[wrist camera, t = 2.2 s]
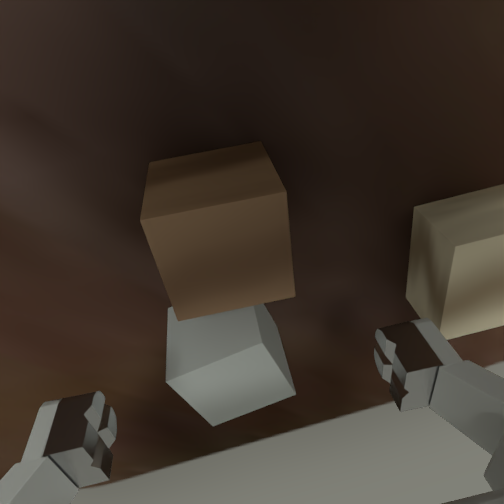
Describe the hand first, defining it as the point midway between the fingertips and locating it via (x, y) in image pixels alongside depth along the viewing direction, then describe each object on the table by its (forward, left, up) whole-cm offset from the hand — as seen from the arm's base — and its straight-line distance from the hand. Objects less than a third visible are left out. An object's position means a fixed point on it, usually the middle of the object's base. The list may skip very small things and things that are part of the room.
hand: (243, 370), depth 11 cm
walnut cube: (-1, 0, -9) cm, 9 cm away
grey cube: (+7, -1, -9) cm, 12 cm away
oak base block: (+5, +14, -10) cm, 18 cm away
